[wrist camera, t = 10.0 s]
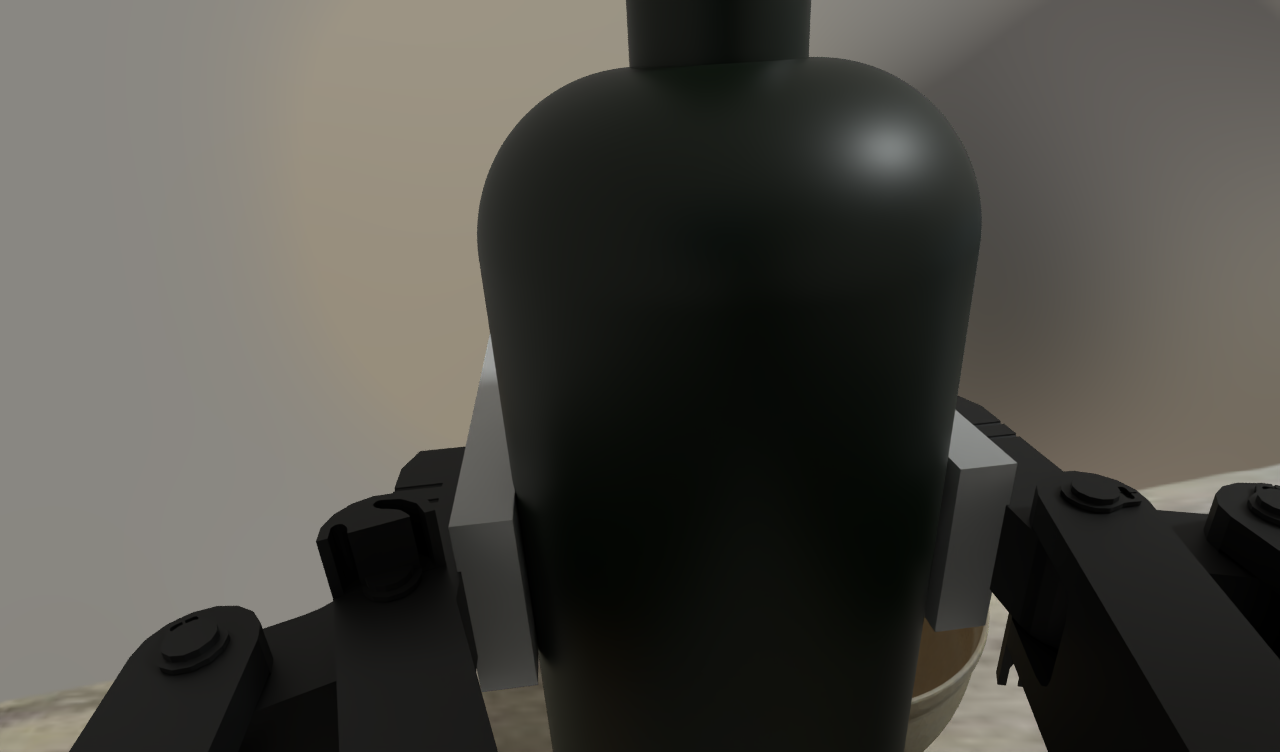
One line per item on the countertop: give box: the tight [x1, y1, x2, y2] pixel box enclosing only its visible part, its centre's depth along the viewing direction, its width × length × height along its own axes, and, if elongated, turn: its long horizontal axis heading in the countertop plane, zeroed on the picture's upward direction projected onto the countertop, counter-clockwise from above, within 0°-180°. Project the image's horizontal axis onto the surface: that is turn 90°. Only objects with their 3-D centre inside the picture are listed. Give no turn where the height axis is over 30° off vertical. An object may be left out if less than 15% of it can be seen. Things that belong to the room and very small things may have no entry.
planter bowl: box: [904, 609, 989, 752], centre depth 38 cm, size 16×16×11 cm
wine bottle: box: [477, 0, 982, 752], centre depth 11 cm, size 6×6×30 cm
